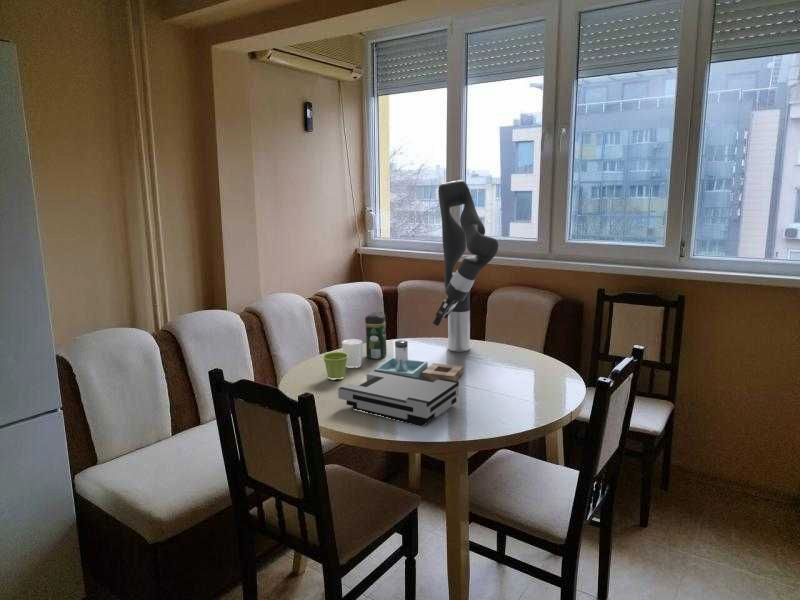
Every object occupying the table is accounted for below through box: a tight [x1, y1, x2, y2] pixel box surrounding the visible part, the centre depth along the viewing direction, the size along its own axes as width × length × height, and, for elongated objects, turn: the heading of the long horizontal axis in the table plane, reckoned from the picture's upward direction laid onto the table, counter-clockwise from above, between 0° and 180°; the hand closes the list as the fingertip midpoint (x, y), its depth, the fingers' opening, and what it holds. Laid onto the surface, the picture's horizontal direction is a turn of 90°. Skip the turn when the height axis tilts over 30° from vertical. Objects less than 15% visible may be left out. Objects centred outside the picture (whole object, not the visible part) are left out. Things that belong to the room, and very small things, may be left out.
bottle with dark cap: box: [394, 339, 409, 372], centre depth 203 cm, size 5×5×12 cm
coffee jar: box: [364, 311, 388, 359], centre depth 227 cm, size 10×8×19 cm
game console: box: [337, 370, 460, 427], centre depth 174 cm, size 21×32×8 cm, turn 58°
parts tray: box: [373, 357, 429, 378], centre depth 204 cm, size 15×15×4 cm
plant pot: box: [322, 351, 348, 378], centre depth 202 cm, size 9×9×9 cm
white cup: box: [341, 338, 363, 366], centre depth 216 cm, size 8×8×10 cm
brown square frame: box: [421, 362, 464, 381], centre depth 203 cm, size 12×12×2 cm
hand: (439, 320), depth 200 cm, fingers open, 8 cm apart
